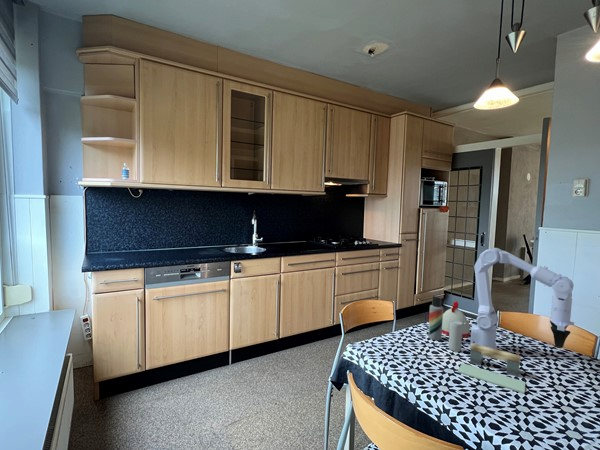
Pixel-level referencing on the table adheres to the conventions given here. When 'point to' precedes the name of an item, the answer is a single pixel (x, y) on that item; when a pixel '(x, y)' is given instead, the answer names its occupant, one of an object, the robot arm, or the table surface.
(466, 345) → the table surface
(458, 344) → the beverage can
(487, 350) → the oak rail
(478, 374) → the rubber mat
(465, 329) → the kitchen timer
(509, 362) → the cradle stands
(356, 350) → the table surface
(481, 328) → the robot arm
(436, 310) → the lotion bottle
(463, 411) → the table surface
